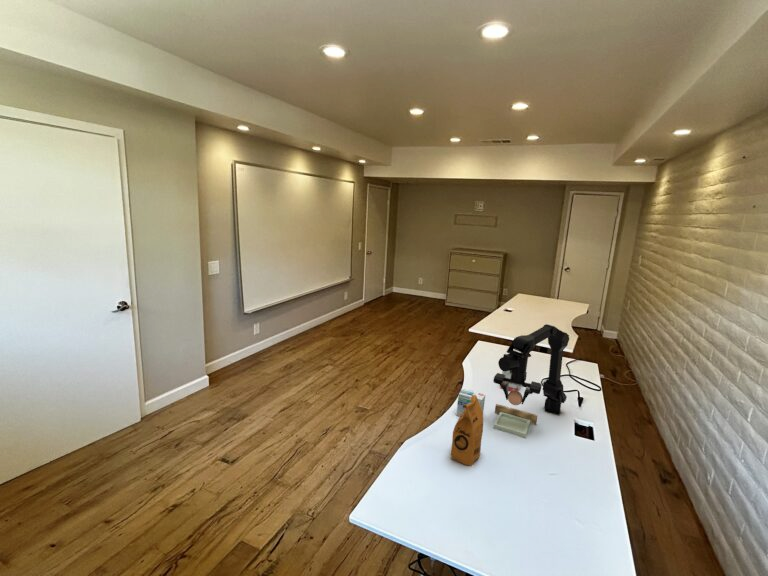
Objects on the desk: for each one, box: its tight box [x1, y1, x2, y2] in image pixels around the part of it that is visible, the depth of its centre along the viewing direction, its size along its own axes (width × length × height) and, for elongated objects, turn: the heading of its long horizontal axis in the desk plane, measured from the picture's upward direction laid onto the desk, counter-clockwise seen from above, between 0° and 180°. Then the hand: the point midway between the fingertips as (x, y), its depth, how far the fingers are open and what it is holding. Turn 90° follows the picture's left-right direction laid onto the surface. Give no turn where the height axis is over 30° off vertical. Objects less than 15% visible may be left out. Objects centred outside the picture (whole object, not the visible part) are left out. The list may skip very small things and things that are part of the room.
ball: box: [507, 390, 523, 406], centre depth 163 cm, size 6×6×6 cm
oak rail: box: [494, 403, 539, 426], centre depth 171 cm, size 18×2×4 cm, turn 61°
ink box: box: [499, 370, 522, 393], centre depth 202 cm, size 9×9×12 cm
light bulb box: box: [456, 388, 486, 418], centre depth 170 cm, size 11×7×11 cm, turn 62°
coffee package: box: [450, 395, 484, 467], centre depth 140 cm, size 10×12×22 cm
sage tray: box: [492, 412, 531, 439], centre depth 165 cm, size 13×13×2 cm
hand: (514, 401), depth 163 cm, fingers closed on ball, 6 cm apart
